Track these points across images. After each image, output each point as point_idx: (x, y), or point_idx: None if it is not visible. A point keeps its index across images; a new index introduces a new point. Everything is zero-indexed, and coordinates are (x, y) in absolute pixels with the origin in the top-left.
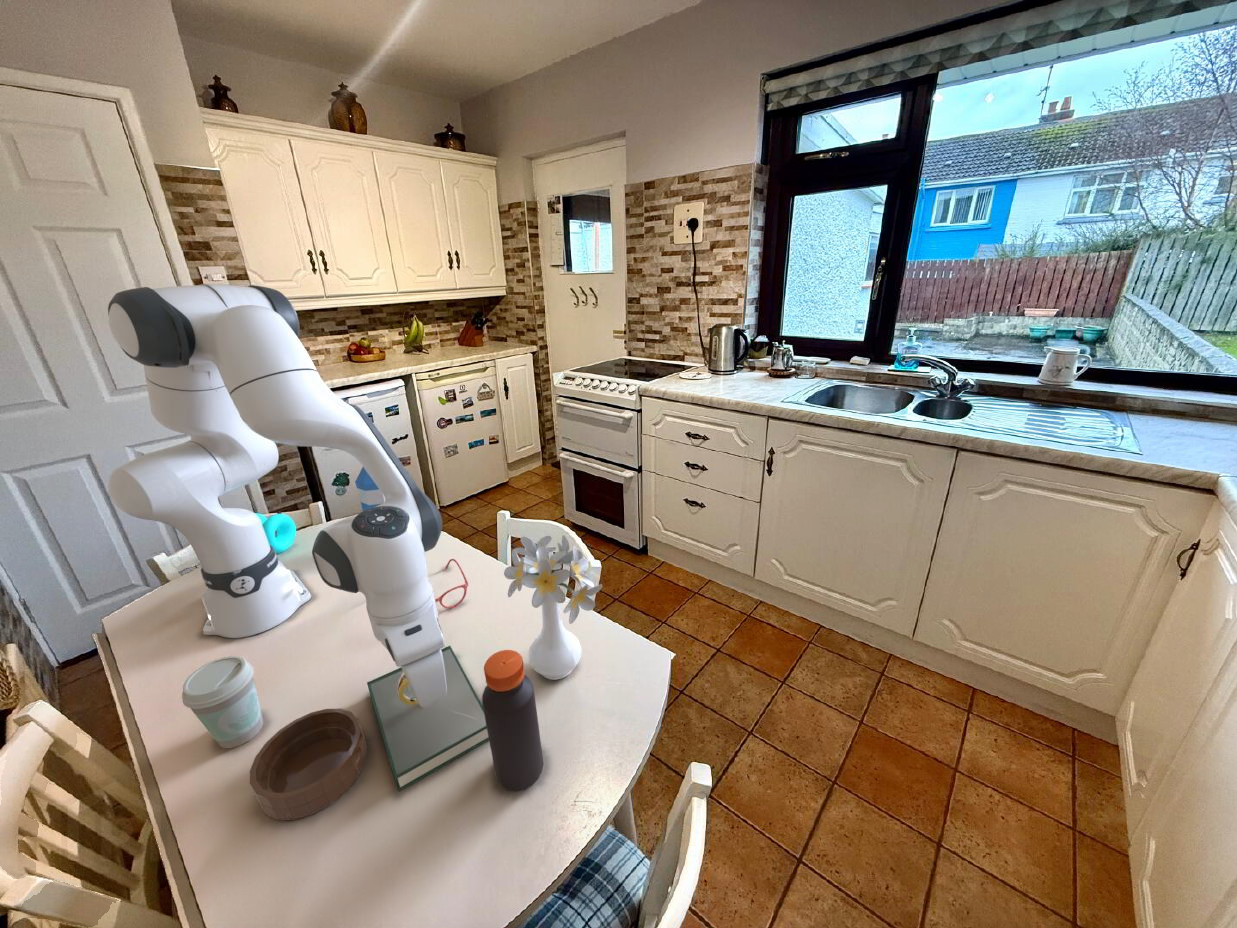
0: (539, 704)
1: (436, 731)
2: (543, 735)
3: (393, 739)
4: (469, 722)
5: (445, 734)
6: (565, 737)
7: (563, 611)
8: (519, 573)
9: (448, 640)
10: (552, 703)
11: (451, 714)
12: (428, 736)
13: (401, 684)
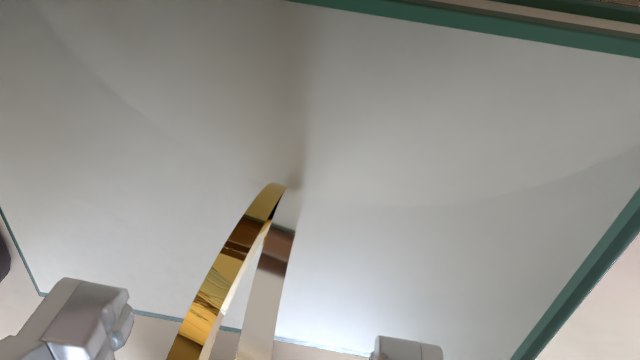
0: (130, 342)
1: (84, 177)
2: (31, 304)
3: (136, 12)
4: (74, 262)
5: (51, 192)
6: (6, 322)
7: None
8: None
9: (599, 349)
10: (117, 354)
11: (146, 245)
12: (72, 145)
13: (206, 332)
